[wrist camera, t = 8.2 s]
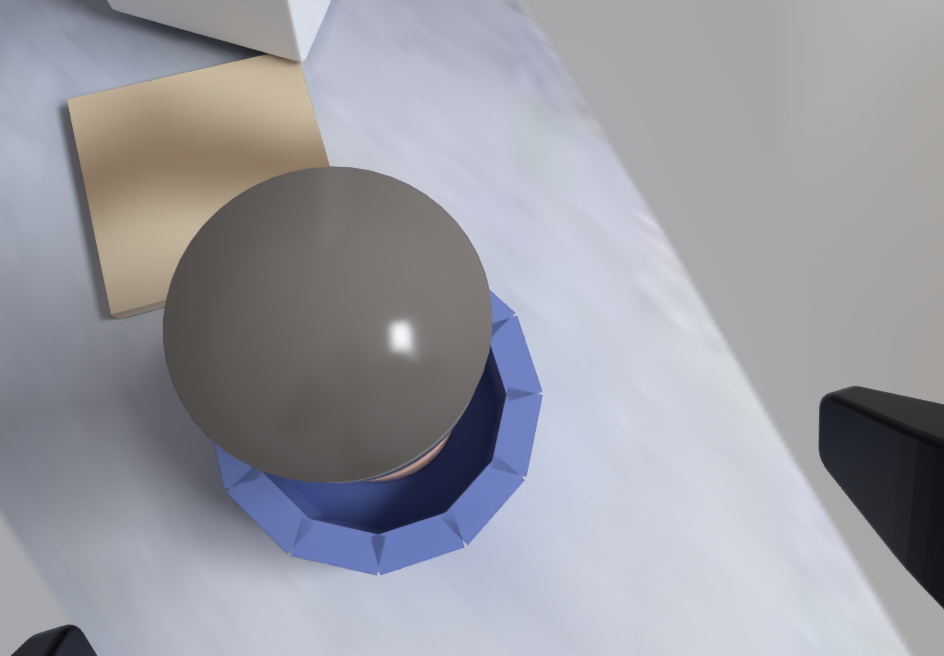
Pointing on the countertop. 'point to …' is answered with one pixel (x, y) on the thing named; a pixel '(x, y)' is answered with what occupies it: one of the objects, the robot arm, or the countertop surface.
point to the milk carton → (240, 21)
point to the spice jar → (329, 326)
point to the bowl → (411, 478)
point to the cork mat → (184, 162)
